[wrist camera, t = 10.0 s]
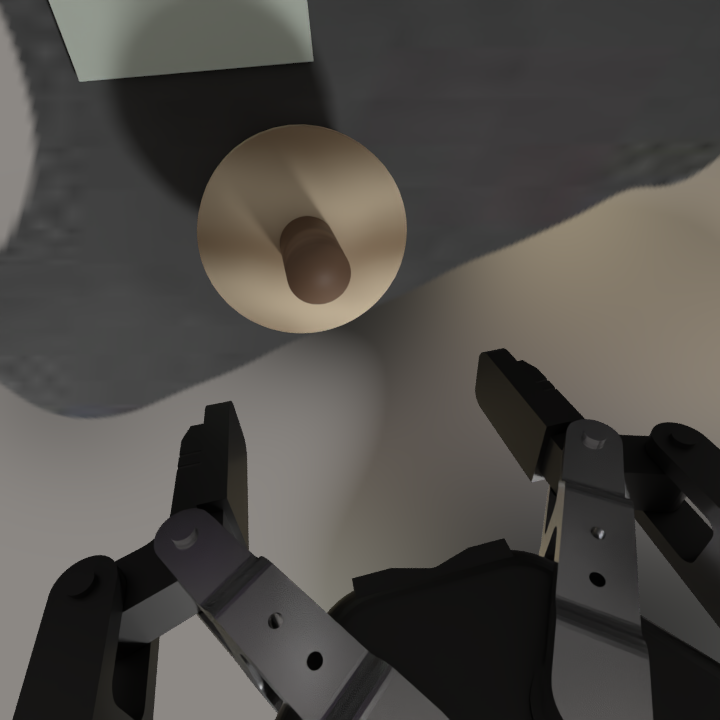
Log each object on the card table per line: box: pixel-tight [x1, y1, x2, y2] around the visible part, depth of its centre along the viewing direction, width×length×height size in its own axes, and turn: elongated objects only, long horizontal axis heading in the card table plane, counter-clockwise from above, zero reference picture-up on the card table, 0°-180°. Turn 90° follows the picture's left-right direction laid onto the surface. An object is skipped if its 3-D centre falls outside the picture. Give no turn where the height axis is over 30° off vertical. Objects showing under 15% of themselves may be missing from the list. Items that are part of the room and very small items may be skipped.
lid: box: [197, 124, 407, 333], centre depth 23 cm, size 12×12×6 cm
